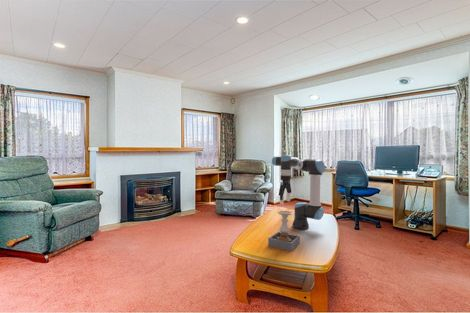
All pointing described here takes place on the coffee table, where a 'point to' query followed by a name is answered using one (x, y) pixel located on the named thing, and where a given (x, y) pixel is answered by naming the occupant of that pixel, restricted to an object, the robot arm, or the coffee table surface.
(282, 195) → the robot arm
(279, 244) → the walled bin
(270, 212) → the coffee table surface
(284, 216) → the candle holder
